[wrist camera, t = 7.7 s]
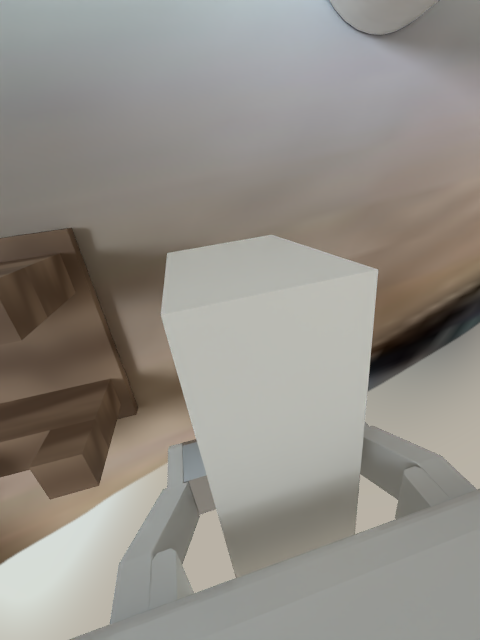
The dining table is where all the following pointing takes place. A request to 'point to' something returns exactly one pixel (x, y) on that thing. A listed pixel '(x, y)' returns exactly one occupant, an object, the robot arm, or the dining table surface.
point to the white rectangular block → (274, 387)
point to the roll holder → (55, 366)
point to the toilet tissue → (381, 13)
